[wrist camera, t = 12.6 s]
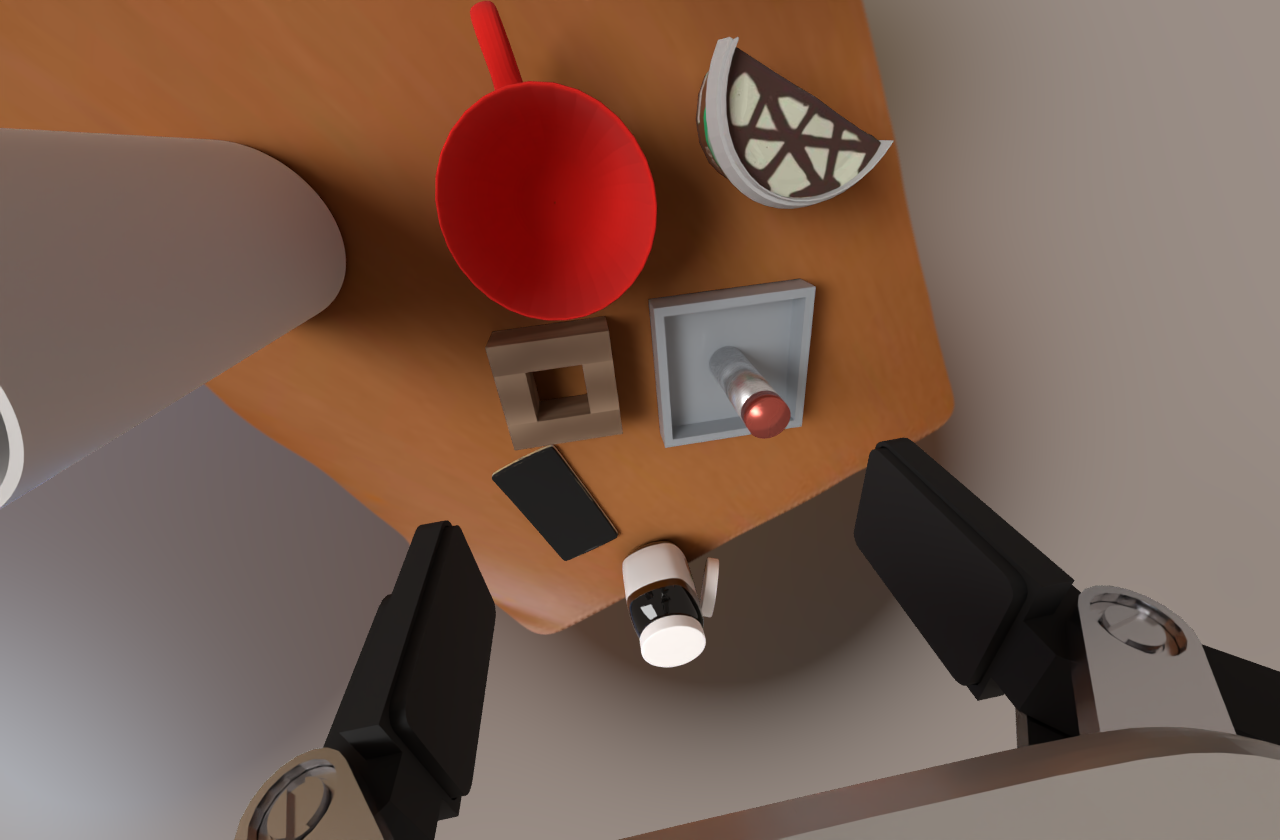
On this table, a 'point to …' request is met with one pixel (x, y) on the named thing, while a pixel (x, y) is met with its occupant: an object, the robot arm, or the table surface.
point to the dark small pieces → (556, 502)
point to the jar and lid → (668, 602)
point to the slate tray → (706, 321)
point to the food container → (777, 134)
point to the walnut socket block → (550, 349)
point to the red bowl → (543, 192)
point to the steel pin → (749, 393)
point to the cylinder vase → (140, 281)
